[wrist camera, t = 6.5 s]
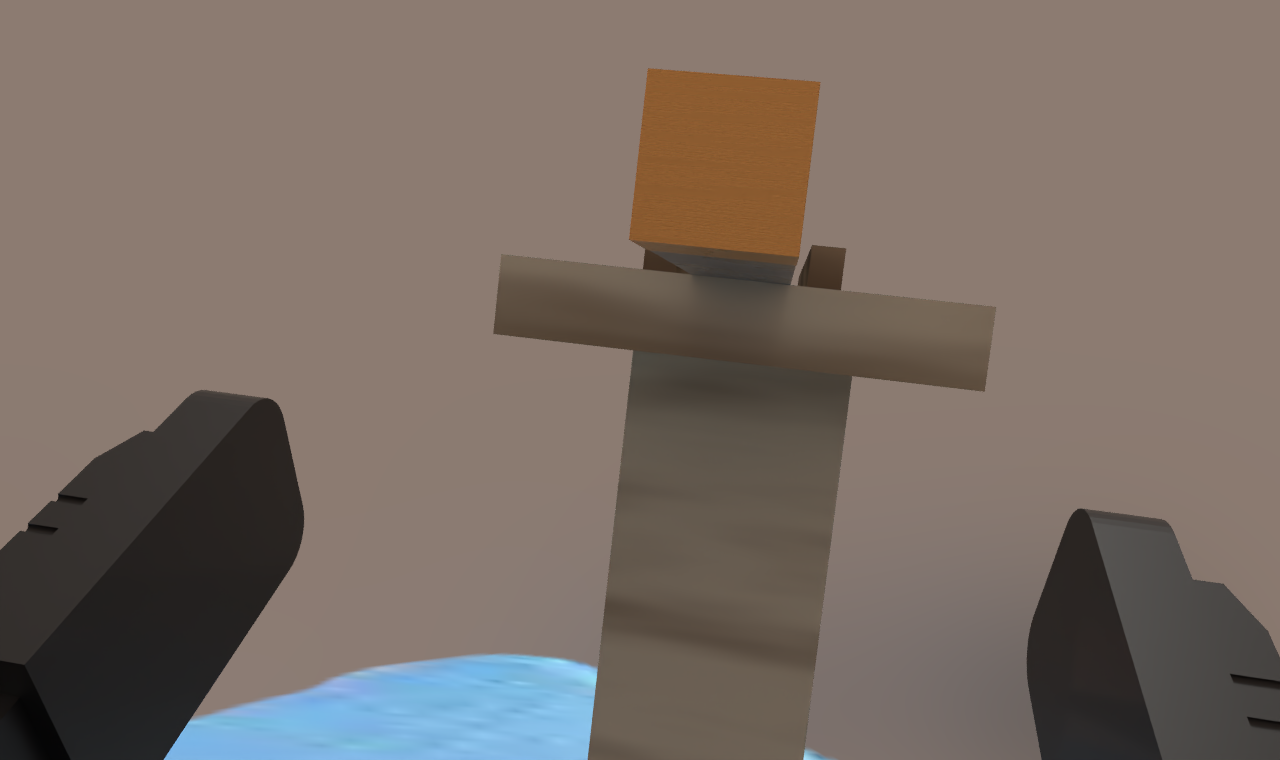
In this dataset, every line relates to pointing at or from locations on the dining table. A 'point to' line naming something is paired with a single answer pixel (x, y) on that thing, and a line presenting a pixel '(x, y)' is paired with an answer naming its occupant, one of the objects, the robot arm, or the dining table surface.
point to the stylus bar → (724, 173)
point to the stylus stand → (728, 480)
